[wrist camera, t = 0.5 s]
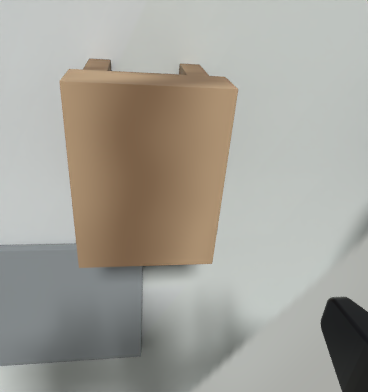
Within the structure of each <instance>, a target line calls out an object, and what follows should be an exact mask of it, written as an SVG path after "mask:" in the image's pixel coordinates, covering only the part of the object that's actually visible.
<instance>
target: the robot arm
mask: <svg viewBox="0 0 368 392" xmlns="http://www.w3.org/2000/svg"><path fill="white" fill-rule="evenodd" d="M321 329H322V332H323V335H324V338H325V341H326V344H327V348H328V350H329V354H330V357H331V359H332V363H333V366H334V368H335V372H336V375H337V378H338V380H339V384H340V386H341V389H342V392H368V312H367V311H366V310H364V309H363V308H362V307H360V306H359V305H357V304H356V303H355V302H353V301H352V300H351V299H349V298H347V297H332V298H330V299H329V300H328V301H327V304H326V307H325V310H324V313H323V316H322V318H321Z"/></svg>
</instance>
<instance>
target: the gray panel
mask: <svg viewBox="0 0 368 392" xmlns="http://www.w3.org/2000/svg"><path fill="white" fill-rule="evenodd" d="M141 321H142V266H125V267H94V268H79V264H78V255H77V245H76V244H38V245H0V366H9V365H23V364H37V363H52V362H66V361H80V360H94V359H109V358H123V357H137V356H141Z"/></svg>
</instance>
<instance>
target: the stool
mask: <svg viewBox="0 0 368 392" xmlns="http://www.w3.org/2000/svg"><path fill="white" fill-rule="evenodd" d="M60 90H61V100H62V110H63V119H64V129H65V139H66V148H67V158H68V168H69V177H70V187H71V197H72V206H73V216H74V226H75V235H76V245H77V255H78V264H79V268H94V267H125V266H156V265H188V264H212V261H213V254H214V248H215V241H216V234H217V228H218V221H219V214H220V207H221V201H222V194H223V187H224V181H225V174H226V167H227V161H228V154H229V147H230V140H231V134H232V127H233V120H234V114H235V107H236V100H237V94H238V89H237V88H236V87H235V86H234V85H233V84H232V83H231V82H230V81H229V80H228V79H227V78H226V77H218V76H209V75H208V74H207V73H206V72H205V70H204V69H203V68H202V67H201V66H200V65H195V64H180V68H179V75H178V74H158V73H138V72H118V71H111V61H110V60H104V59H89V60H88V62H87V63H86V65H85V67H84V68H83V70H78V69H69V70H68V71H67V72H66V73H65V75H64V76H63V77H62V79H61V80H60Z"/></svg>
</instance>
